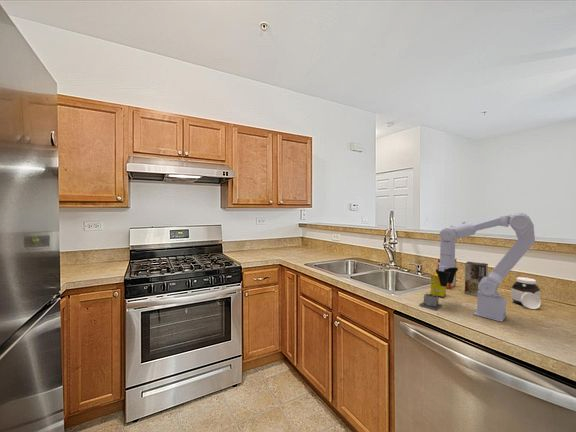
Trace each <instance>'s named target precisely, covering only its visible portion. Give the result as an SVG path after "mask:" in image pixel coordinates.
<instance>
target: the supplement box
mask: <svg viewBox="0 0 576 432" xmlns="http://www.w3.org/2000/svg"><path fill="white" fill-rule="evenodd" d="M446 290H447V289H446V287H444V286H441V285H440V281H439V277H438V275H437V273H436V271H434V272H432V273H431V274H430V294H433V295H437V296H438V297H439V298H441V299H444V298H445V296H447V295H446V292H447V291H446Z"/></svg>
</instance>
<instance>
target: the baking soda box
mask: <svg viewBox="0 0 576 432" xmlns="http://www.w3.org/2000/svg"><path fill="white" fill-rule="evenodd" d="M437 263H440V258H438V259H437ZM455 268H457V258H455ZM437 269H439V265H437ZM456 281H457V273H456V274H455V276H454V280H453V283H452V284H451V283H447V286H446V290H450V291H451V290H452V289H454V288H455V287H456V286H457V285H456V284H457V282H456Z"/></svg>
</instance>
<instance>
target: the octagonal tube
mask: <svg viewBox="0 0 576 432" xmlns="http://www.w3.org/2000/svg"><path fill="white" fill-rule="evenodd" d="M428 296H432V297H428ZM439 298H440V297H438V296H437V295H433V294H431V293H425V294H423V302H424V304H425V305H427V306H430V307H437V306H438V304H439Z"/></svg>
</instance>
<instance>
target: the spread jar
mask: <svg viewBox="0 0 576 432" xmlns="http://www.w3.org/2000/svg"><path fill="white" fill-rule="evenodd" d="M515 279H516V282H514V283H513V284H512V286H511V293H510V294H511V299H512V301H513V302H514V303H516V304H518V305H520V306H524V307H525V308H526V309H529V310H536V309H539V308H541V305H542V301H541V289H540V287H539V285H537V280H536V279H534V278H530V277H523V276H521V277H520V276H519V277H516V278H515Z"/></svg>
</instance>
